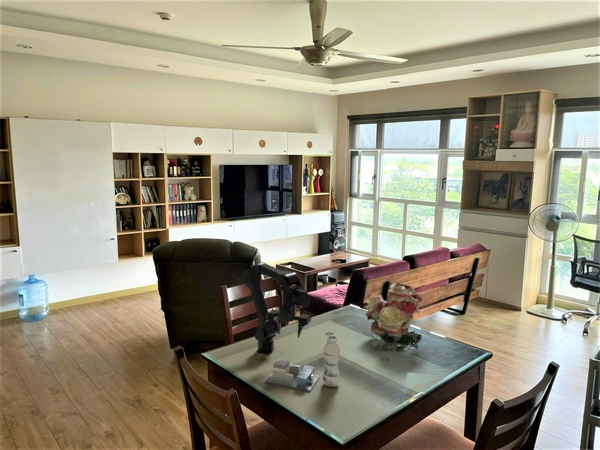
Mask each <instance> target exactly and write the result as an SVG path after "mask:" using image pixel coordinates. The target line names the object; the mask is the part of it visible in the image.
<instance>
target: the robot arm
mask: <svg viewBox="0 0 600 450" xmlns="http://www.w3.org/2000/svg"><path fill="white" fill-rule="evenodd" d="M262 275H265V276H267V277H268V278H271V279H273V280H275V281H276V282H277V283H278V285H279V286H280V287H279V288H278V291H281V293H282V294H281V295H282V296H281V297H282V299H281V302H282V303H281V306H280V310H277V309H271V310H270V311H269V310H268V306H267V303H266V301H265V297H264V294H263V291H262V287H261V285H262ZM241 278H242V281H243V283H244V285H245V286H246V287H247V288H248V289H249V291H250V293H251V294H250V295H251V298H252V300H253V303H254V307H255V310H256V313H257V316H258V323H257V329H258V331H256V332H255V333H254V339H255V340H257V350H256V351H255V352H256V353H260V354H266V355H270V354H271V353H272V351H274V350H275V344H274V342H275V341H274V337H276V335H280V334H281V324H282V325H288V324H289V323H290V322H293V321H297V322H298V324H297V338H298V339H299V338H300V337H301V335H302V331H303V329H304V327H305V326H308V325H309V324H310V322H311V321H312V316H311V314H306V313H302V314H301V315H297V311H296V306H299V307H302V308H308V307H309V306H310V304H311V301H312V298H311V295H310V294H308V293H309V292H308V290H303V289H304V287H303V285H302V283H301V280H300V279H299V277H298V274H297V273H296V272H294V271H289V270H281V269H278V268H277V267H275V266H272V265H270V264H267V263H266V262H264V261H261V262H257V263H255V264H254V265H252V266H251V267H250V268H248V269H245V270H243V272H242V273H241Z"/></svg>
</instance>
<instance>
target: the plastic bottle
mask: <svg viewBox="0 0 600 450" xmlns="http://www.w3.org/2000/svg"><path fill="white" fill-rule="evenodd" d="M326 338H327V339H326V342H327V343H326V344H325V345H324V347H323V349H322V350H323V358H324V359H323V361H324V362H323V363H324V368H323V369H324V370H323V376H322V382H323V385H325V386H326V387H328V388H335V387H338V386H339V384H340V373H339V359H340V352H341V350H340V347H339V345H338V343H337V342H338V340H337V336H336V335H328V336H327V337H326Z"/></svg>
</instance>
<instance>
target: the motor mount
mask: <svg viewBox="0 0 600 450" xmlns="http://www.w3.org/2000/svg"><path fill="white" fill-rule="evenodd" d="M320 376H321V375H319V374H315V366H310V365H304V366H303V368H302V369H301V365H298V364H297V365H296V364H291V363H289V374H288V373H283V372H278V371H273V370H272V371H271V373H270V374H269V375H268V376H267V378H266V380H265V384H270V385H274V386H280V387H284V388H288V389H289V388H290V389H293V390H299V391H302V392H308V393H311V392H312V390H313V389H314V387H315V385H316V384H317V382H318V380H319V379H320V378H321V377H320Z"/></svg>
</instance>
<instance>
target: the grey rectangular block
mask: <svg viewBox="0 0 600 450" xmlns="http://www.w3.org/2000/svg"><path fill="white" fill-rule="evenodd" d="M289 364H290V360H289V359H283V358H280V357H279V358H277V359H276V360H275V362H274V363H273V365H272V366H273V369H272V371H278V372H283V373H288V374H289Z"/></svg>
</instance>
